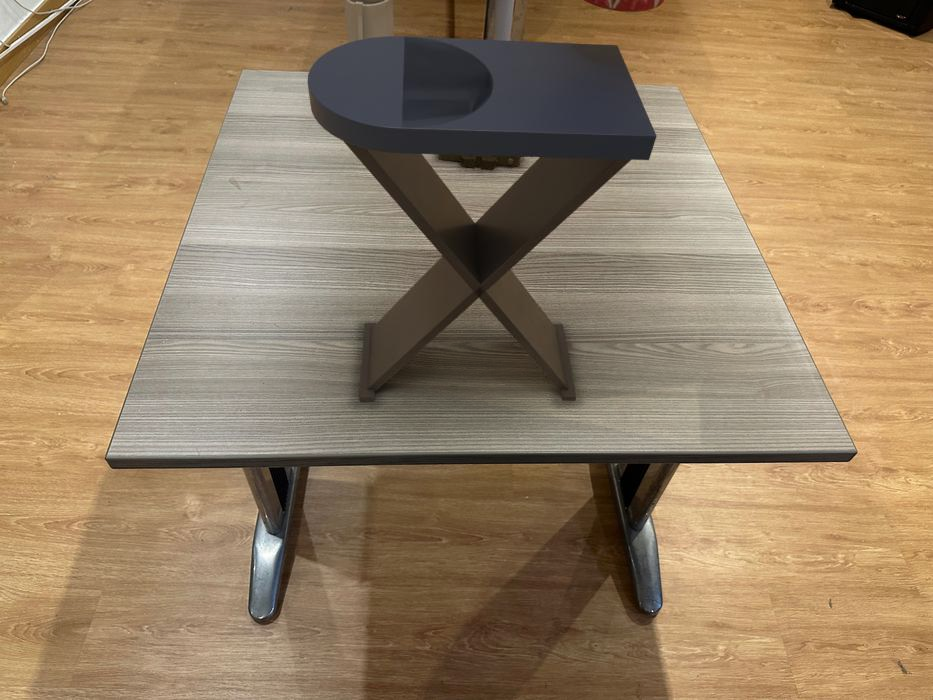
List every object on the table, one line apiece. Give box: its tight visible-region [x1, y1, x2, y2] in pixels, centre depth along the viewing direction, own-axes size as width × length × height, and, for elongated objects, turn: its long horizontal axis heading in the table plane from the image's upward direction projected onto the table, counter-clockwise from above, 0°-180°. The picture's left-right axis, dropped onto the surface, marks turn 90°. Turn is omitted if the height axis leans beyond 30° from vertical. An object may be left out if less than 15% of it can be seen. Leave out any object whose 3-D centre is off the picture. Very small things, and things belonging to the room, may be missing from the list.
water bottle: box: [343, 0, 395, 43], centre depth 98 cm, size 9×8×25 cm
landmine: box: [438, 154, 522, 170], centre depth 104 cm, size 14×3×15 cm
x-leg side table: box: [307, 35, 658, 402], centre depth 62 cm, size 26×14×34 cm, turn 93°
